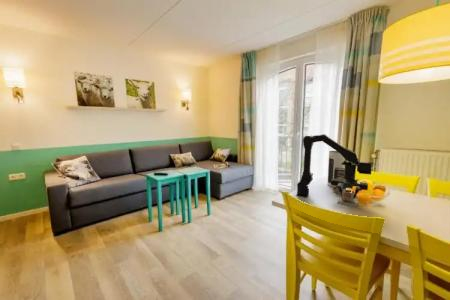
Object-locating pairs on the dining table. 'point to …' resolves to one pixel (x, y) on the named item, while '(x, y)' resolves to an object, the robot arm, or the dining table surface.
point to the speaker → (334, 164)
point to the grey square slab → (347, 202)
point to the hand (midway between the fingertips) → (347, 197)
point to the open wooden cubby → (347, 195)
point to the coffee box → (338, 175)
